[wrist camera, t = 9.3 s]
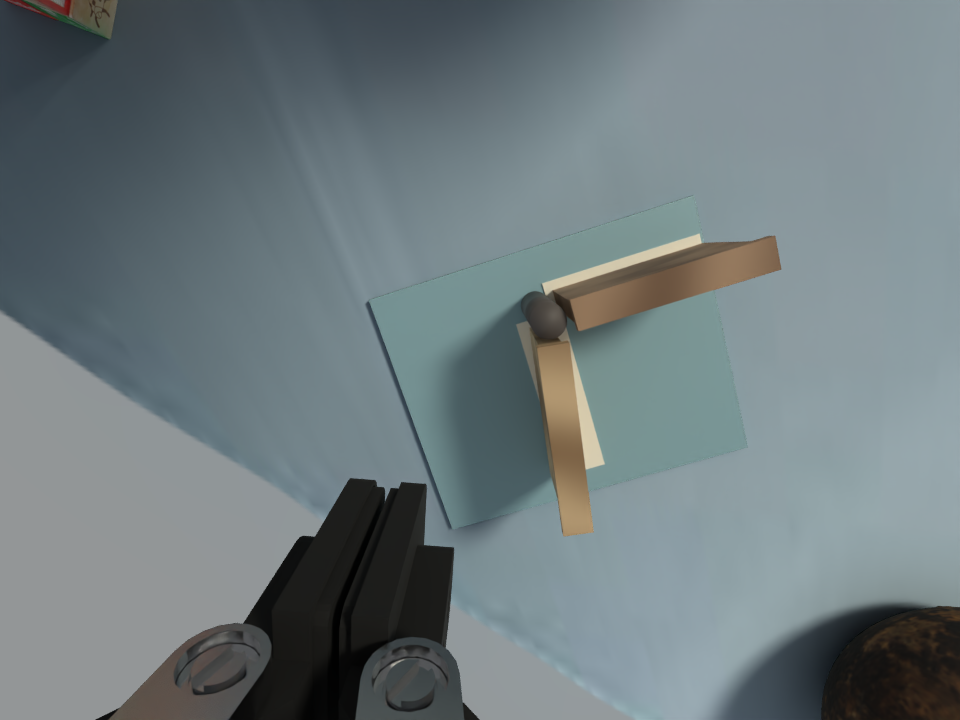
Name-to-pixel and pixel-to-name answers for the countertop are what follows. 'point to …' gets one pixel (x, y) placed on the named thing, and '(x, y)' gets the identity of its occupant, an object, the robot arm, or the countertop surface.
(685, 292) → the fixed fence panel
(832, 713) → the glass bottle
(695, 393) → the board
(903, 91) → the countertop surface
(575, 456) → the panel
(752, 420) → the countertop surface
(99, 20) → the stack of blocks
